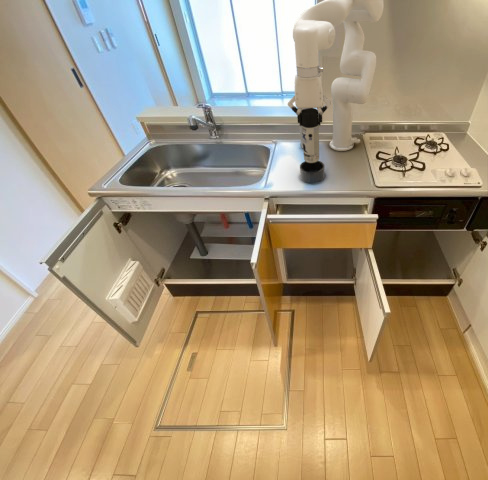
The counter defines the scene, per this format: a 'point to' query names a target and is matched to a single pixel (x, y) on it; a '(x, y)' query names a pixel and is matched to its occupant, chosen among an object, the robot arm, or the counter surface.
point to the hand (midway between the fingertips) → (310, 124)
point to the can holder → (312, 172)
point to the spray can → (310, 134)
